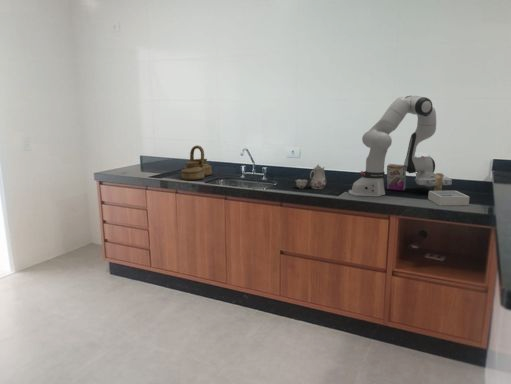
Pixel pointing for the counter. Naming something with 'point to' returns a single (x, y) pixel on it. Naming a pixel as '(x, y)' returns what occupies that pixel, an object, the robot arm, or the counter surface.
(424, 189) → the counter surface
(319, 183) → the chinaware
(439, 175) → the wooden peg
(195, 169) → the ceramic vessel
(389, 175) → the candy bar box
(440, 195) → the bore box
